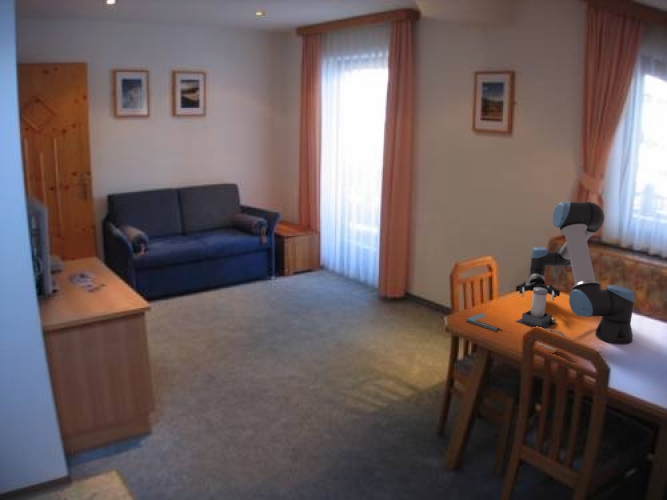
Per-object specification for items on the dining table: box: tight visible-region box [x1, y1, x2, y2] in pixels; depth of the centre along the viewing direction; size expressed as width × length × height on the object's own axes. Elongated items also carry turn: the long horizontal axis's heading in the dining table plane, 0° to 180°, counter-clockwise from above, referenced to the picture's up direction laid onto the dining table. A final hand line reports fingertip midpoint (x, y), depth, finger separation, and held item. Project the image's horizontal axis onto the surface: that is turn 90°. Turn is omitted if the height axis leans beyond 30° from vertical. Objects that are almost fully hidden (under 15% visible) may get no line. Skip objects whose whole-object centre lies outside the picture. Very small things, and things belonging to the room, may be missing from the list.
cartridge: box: [530, 287, 548, 318], centre depth 291 cm, size 6×6×16 cm
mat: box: [465, 312, 501, 332], centre depth 295 cm, size 16×12×1 cm
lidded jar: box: [537, 328, 566, 350], centre depth 265 cm, size 11×11×9 cm
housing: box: [514, 309, 558, 329], centre depth 293 cm, size 14×14×6 cm
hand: (538, 296), depth 299 cm, fingers open, 13 cm apart
